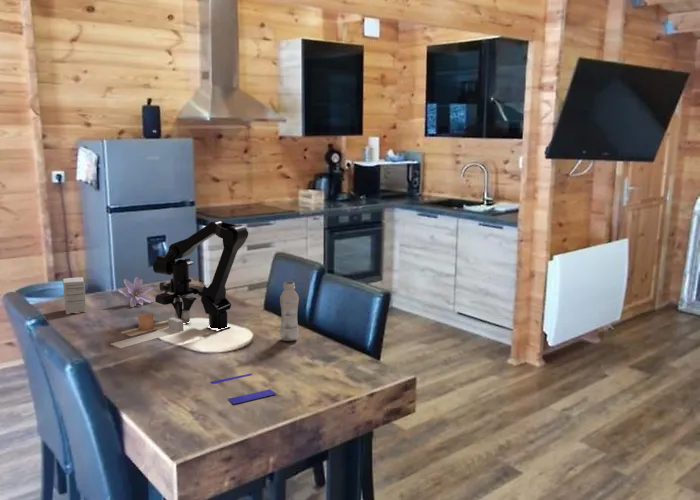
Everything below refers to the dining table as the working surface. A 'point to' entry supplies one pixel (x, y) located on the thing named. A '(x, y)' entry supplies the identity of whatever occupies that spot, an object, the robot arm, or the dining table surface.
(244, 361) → the dining table surface
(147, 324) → the rounded peach dome
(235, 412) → the dining table surface
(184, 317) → the birch strip
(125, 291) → the water lily
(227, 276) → the robot arm
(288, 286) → the plastic bottle
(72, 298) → the miniature chest of drawers
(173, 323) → the grey strip
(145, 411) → the dining table surface
